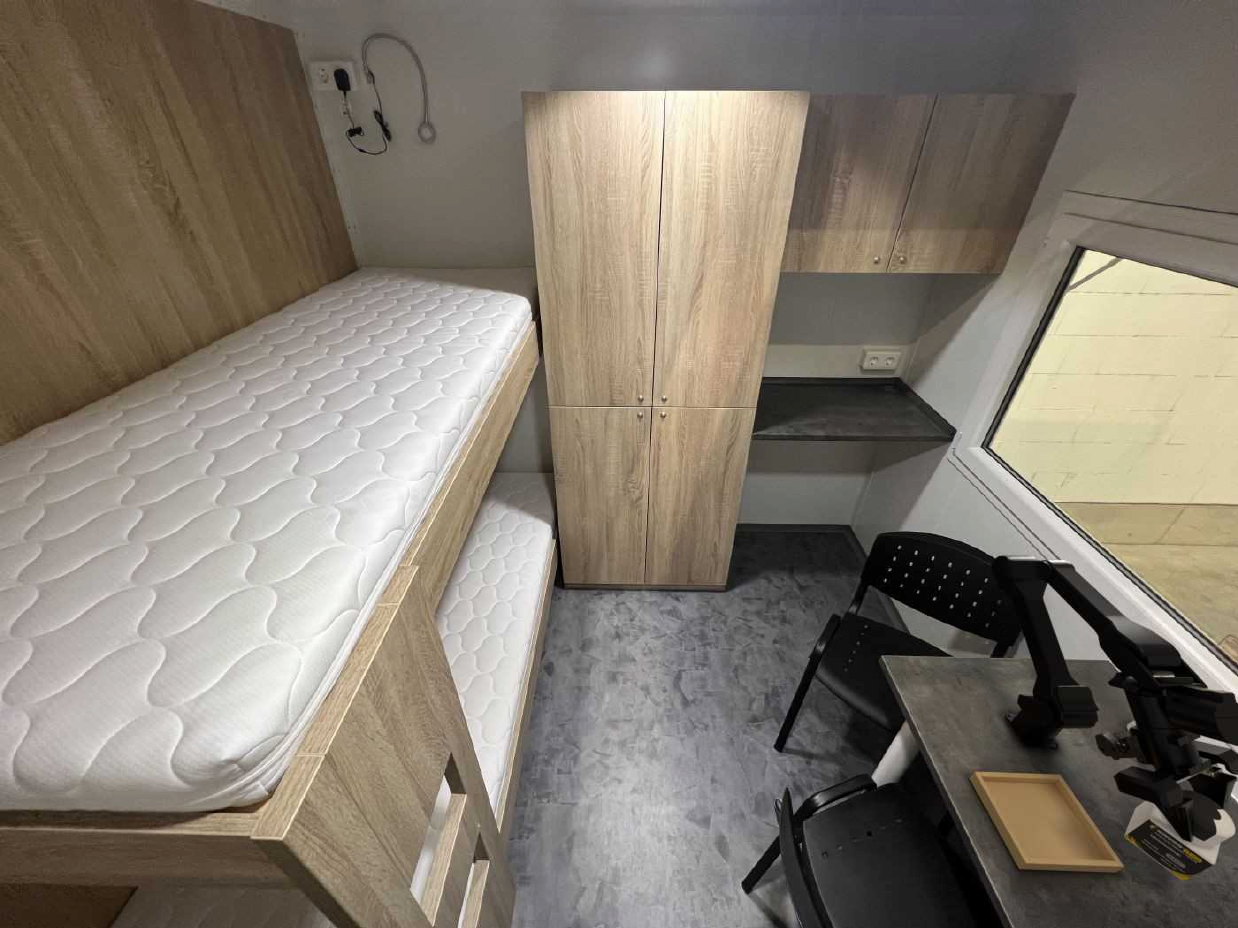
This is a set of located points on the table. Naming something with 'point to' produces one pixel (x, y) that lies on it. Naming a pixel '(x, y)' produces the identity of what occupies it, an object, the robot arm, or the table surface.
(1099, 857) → the tray
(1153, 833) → the medicine bottle
